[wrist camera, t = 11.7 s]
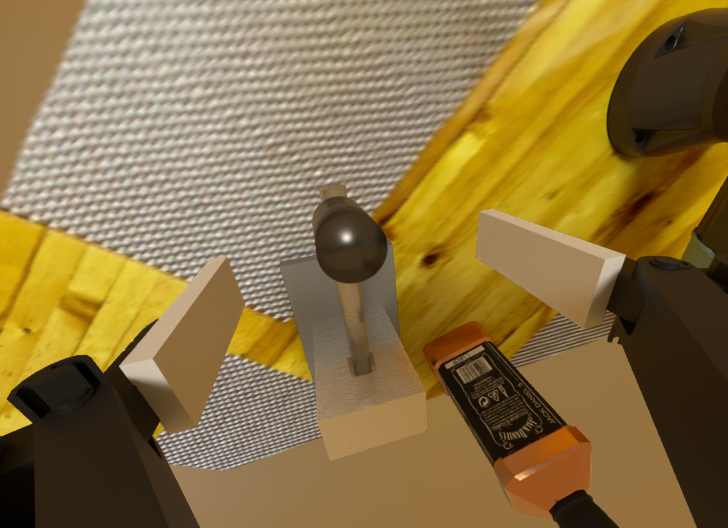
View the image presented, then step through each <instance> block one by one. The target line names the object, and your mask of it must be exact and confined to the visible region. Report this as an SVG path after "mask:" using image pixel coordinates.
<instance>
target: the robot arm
mask: <svg viewBox="0 0 728 528" xmlns="http://www.w3.org/2000/svg"><path fill="white" fill-rule="evenodd" d="M608 129H609V135H610V138H611V141H612V143H613V145H614V147H615V148H616V149H617V150H618V151H619V152H620V153H622V154H624V155H627V156H632V157H657V156H662V155H667V154H671V153H676V152H680V151H685V150H689V149H694V148H698V147H702V146H707V145H711V144H716V143H722V142H728V8H710V9H704V10H700V11H696V12H693V13H690V14H687V15H684V16H681V17H679V18H676V19H673V20H671V21H668V22H667V23H665V24H663V25H662V26H660V27H659V28H657V29H656V30H655V31H654V32H652V33H651V34H650V35H649V36H648V37H647V38H646V39H645V40H644V41H643V42H642V43H641V44H640V45H639V47H638V48H637V49H636V50H635V52H634V53H633V55H632V56H631V57H630V59H629V60H628V62H627V64H626V65H625V67H624V69H623V71H622V73H621V75H620V77H619V79H618V81H617V84H616V86H615V89H614V92H613V95H612V98H611V102H610V107H609V114H608ZM691 236H692V237H691V239H690V241H689V243H688V245H687V248H686V250H685V252H684V254H683V256H682V258H681V260H678V259H675V258H672V257H665V256H645V257H640V258H639V259H637V261H635V260H632V259H629V258H626V257H625V256H626V255H625V254H622V253H619V252H616V251H613V250H610V249H607V248H604V247H602V246H599V245H596V244H593V243H590V242H587V241H584V240H581V239H578V238H575V237H573V236H570V235H567V234H564V233H561V232H558V231H555V230H552V229H549V228H546V227H543V226H541V225H538V224H535V223H532V222H529V221H526V220H523V219H520V218H517V217H514V216H512V215H509V214H506V213H503V212H500V211H497V210H494V209H489V210H483V211H479V222H478V235H477V249H476V258H478V259H479V260H481V261H482V262H484V263H485V264H487V265H488V266H490V267H491V268H493V269H494V270H496V271H497V272H499V273H500V274H502V275H503V276H505V277H506V278H508V279H509V280H511V281H512V282H514V283H515V284H517V285H518V286H520V287H521V288H523V289H524V290H526V291H527V292H529V293H530V294H532V295H533V296H535V297H536V298H538V299H539V300H541V301H542V302H544V303H545V304H547V305H548V306H550V307H551V308H553V309H554V310H556V311H557V312H559V313H560V314H562V315H563V316H565V317H566V318H568V319H569V320H571V321H572V322H574V323H575V324H577V325H578V326H580V327H581V328H583V329H584V328H588V327H592V326H596V325H600V324H602V321H603V319H604V316H605V313H606V310H609V311H611V312H612V313H614V314H616V317H615V320H614V322H613V325H612V328H611V330H610V333H609V335H608V340H607V341H608V342H612V340H613V338H615V337H619V341H618V344H621V345H622V346H623V349H624V351H625V353H626V356H627V358H628V361H629V363H630V366H631V368H632V371H633V373H634V375H635V378H636V380H637V383H638V385H639V388H640V390H641V392H642V395H643V397H644V400H645V402H646V405H647V407H648V409H649V412H650V414H651V417H652V419H653V422H654V424H655V427H656V429H657V431H658V434H659V436H660V438H661V441H662V444H663V446H664V448H665V451H666V453H667V456H668V458H669V461H670V463H671V465H672V468H673V470H674V473H675V475H676V478H677V480H678V482H679V485H680V487H681V490H682V492H683V495H684V497H685V500H686V502H687V504H688V507H689V509H690V512H691V514H692V517H693V519H694V521H695V524H696V526H697V528H728V176H727V178H726V179H725V181H724V183H723V185H722V186H721V188H720V190H719V191H718V193H717V195H716V196H715V198H714V200H713V202H712V203H711V205H710V207H709V208H708V210H707V212H706V213H705V215H704V217H703V219H702V220H701V222H700V223H699V225H698V227H695V228H694V229H693V231H692V233H691ZM244 306H245V302H244V300H243V297H242V294H241V292H240V289H239V287H238V284H237V281H236V279H235V276H234V274H233V271H232V268H231V266H230V263H229V261H228V258H227V257H222V258H216V259H211V260H209V261H208V263H207V264H206V265H205V266H204V267H203V268H202V270H201V271H200V272H199V273H198V274H197V275H196V277H195V278H194V279H193V280H192V281H191V282H190V284H189V285H188V286H187V287H186V288H185V289H184V291H183V292H182V293H181V294H180V295H179V297H178V298H177V299H176V300H175V301H174V302H173V304H172V305H171V306H170V307H169V308H168V309H167V311H166V312H165V313H164V314H163V315H162V316H161V318H160V319H156V320H155V321H154V322H152V323H151V324H149V325H148V326H147V327H145V328H144V329H143V330H142V331H141V332H140V333H139V334H138V335H137V336H136V337H135V339H134V340H133V342H131V343H130V344H129V345H128V346H127V347H126V349H125V351H123V352H122V353H121V354H120V355H119V356H118V358H117V359H116V360H115V361H114V362H113V363H112V364H111V365H110V366H109V368H108V369H107V370H106V371H105V372H104V373H103V372H102V371H101V370H100V368H99V367H98V366H97V365H96V363H95V362H94V361H93V359H92V358H91V357H89V356H88V355H76V356H73V357H69V358H65V359H63V360H60V361H58V362H55V363H53V364H50V365H49V366H47V367H45V368H43V369H41V370H39V371H37V372H35V373H34V374H32V375H31V376H29V377H28V378H26V379H25V380H23V381H22V382H21V383H20V384H19V385H17V386H16V387H15V388H14V389H13V390H12V391H11V392H10V394H9V396H8V398H7V400H8V401H9V402H10V403H11V404H13V405H14V406H15V407H16V408H17V409H18V410H19V411H20V412H21V413H22V414H23V415H24V416H26V417H27V418H28V419H29V420H30V421H31V422H32V423H33V424H30V425H28V426H25V427H23V428H21V429H18V430H16V431H13V432H11V433H9V434H6V435H4V436H0V528H200V527H199V525H198V523H197V521H196V519H195V517H194V515H193V513H192V510H191V508H190V506H189V504H188V502H187V501H186V499H185V496H184V495H183V492H182V490H181V488H180V486H179V484H178V482H177V480H176V478H175V476H174V474H173V472H172V470H171V468H170V466H169V464H168V462H167V460H166V458H165V456H164V454H163V452H162V450H161V448H160V446H159V444H158V442H157V441H156V440H155V438H154V437H153V436H152V435H153V433H154V431H155V429H156V428H157V426H158V424H159V422H160V423H161V424H162V425H163V427H164V428H165V429H166V431H167V432H168V434H172V433H176V432H180V431H184V430H188V429H192V428H196V427H197V426H198V423H199V420H200V418H201V415H202V413H203V410H204V408H205V405H206V403H207V400H208V398H209V395H210V393H211V390H212V387H213V385H214V382H215V380H216V377H217V375H218V372H219V370H220V367H221V365H222V362H223V360H224V357H225V354H226V352H227V349H228V347H229V344H230V342H231V339H232V337H233V334H234V332H235V329H236V327H237V324H238V321H239V319H240V316H241V314H242V311H243V309H244Z"/></svg>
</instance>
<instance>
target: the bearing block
mask: <svg viewBox="0 0 728 528" xmlns="http://www.w3.org/2000/svg"><path fill="white" fill-rule="evenodd" d="M364 316H365V323H366V330H367V337H368V343H369V350H370V357H371V364H372V371H373V372H372V373H368V374H365V375H361V376H357V377H355V375H354V370H353V365H352V360H351V354H350V349H349V344H348V339H347V333H346V328H345V323H344V318H343V316H341V317H337V318H332V319H328V320H324V321H319V322H315V323H312V330H313V348H314V365H315V382H316V400H317V417H318V424H319V428H320V431H321V434H322V437H323V440H324V443H325V447H326V450H327V453H328V456H329V459H330V461H331V460H334V459H337V458H341V457H344V456H347V455H351V454H354V453H357V452H360V451H363V450H366V449H370V448H373V447H376V446H380V445H383V444H386V443H389V442H392V441H396V440H399V439H402V438H405V437H409V436H412V435H415V434H418V433H422V432H425V431H427V415H426V390H425V388H424V386H423V384H422V382H421V380H420V378H419V376H418V374H417V372H416V370H415V368H414V366H413V364H412V362H411V360H410V358H409V356H408V354H407V352H406V350H405V348H404V347H403V345H402V343H401V341H400V339H399V337H398V335H397V333H396V331H395V329H394V327H393V325H392V323H391V321H390V319H389V317H388V315H387V313H386V311H385V309H384V307H380V308H376V309H371V310H367V311H364Z"/></svg>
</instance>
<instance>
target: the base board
mask: <svg viewBox="0 0 728 528" xmlns="http://www.w3.org/2000/svg"><path fill="white" fill-rule="evenodd" d="M387 244H388V251H387V256H386V259H385V262H384V264H383V266H382V267H381V268H380V270H379V271H378V272H377V273H376V274H375V275H373V276H372V277H371V278H369V279H367V280H365V281H362V282H360V289H361V296H362V303H363V309H364V311H367V310H371V309H376V308H380V307H384V309H385V311H386V313H387V315H388V317H389V319H390V321H391V323H392V325H393V327H394V329H395V331H396V333H397V335H398V337H399V339H400V336H399V323H398V310H397V297H396V284H395V270H394V257H393V245H392V243H391V242H390V241H387ZM280 270H281V274H282V277H283V280H284V284H285V287H286V291H287V294H288V297H289V301H290V304H291V308H292V311H293V314H294V318H295V321H296V325H297V328H298V331H299V335H300V338H301V341H302V345H303V348H304V352H305V355H306V358H307V362H308V365H309V369H310V372H311V375H312V379H313V382H314V386H315V389H316V382H315V365H314V348H313V330H312V323H315V322H319V321H324V320H328V319H332V318H337V317H341V316H343V312H342V307H341V302H340V297H339V292H338V286H337V281H335V280H333V279H331V278H330V277H328V276H327V275H326V274H325V273H324V272H323V270H322V269H321V267H320V265H319V263H318V260H317V255H313V256H308V257H303V258H297V259H292V260H287V261H282V262H280Z"/></svg>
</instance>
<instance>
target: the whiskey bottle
mask: <svg viewBox="0 0 728 528" xmlns="http://www.w3.org/2000/svg"><path fill="white" fill-rule="evenodd" d="M423 351H424V354H425V356H426V358H427V360H428V362H429V364H430V366H431V368H432V370H433V372H434V374H435V377H436V379H437V380H438V382H439V383H440V385H441V387H442V388H443V390H444V391H445V393H446V395H447V396H450V397H451V399H452V400H453V402H454V403H455V405H456V407H457V408H458V410H459V412H460V414H461V415H462V417H463V418H464V420H465V422H466V423H467V425H468V427H469V429H470V430H471V432H472V434H473V435H474V437H475V438H476V440H477V442H478V443H479V445H480V447H481V448H482V450H483V452H484V453H485V455H486V457H487V458H488V460H489V462H490V463H491V465H492V467H493V468H494V471H495V474H496V476H497V479H498V481H499V483H500V485H501V488H502V490H503V493H504V495H505V497H506V498H507V500H508V502H509V503H510V505H511V507H512V508H513V510H514V511H515V512H517V513H522V514H528V515H533V516H538V517H543V518H548V519H551V518H553V520H554V521H555V522H557V523H558V525H559V527H560V528H619V527H618V526H617V525H616V524H615V523H614V522H613V521H612V520H611V519H610V518H609V517H608V516H607V514H606V513H605V512H604V511H603V510H602V509H601V508H600V507H598V506H597V505H596V504H595V503H594V502H593V498H592V497H591V496H590V481H591V476H592V457H591V456H592V449H591V443H590V441H588V439H587V438H586V437H585V436H584V435H583V434H582V433H581V432H580V431H579V430H578V429H577V428H576V427H574V426H571V425H567V424H566V423H565V421H564V420H562V418H561V417H560V416H559V415H558V414H557V413H556V412H555V410H554V409H553V408H552V407H551V406H550V405H549V404H548V403H547V402H546V401H545V400H544V399H543V397H542V396H541V395H540V394H539V393H538V392H537V391H536V390H535V389H534V388H533V387H532V385H531V384H530V383H529V382H528V381H527V380H526V379H525V378H524V377H523V376H522V375H521V374H520V373H519V371H518V370H517V369H516V368H515V367H514V366H513V365H512V364H511V363H510V361H509V360H508V359H507V358H506V357H505V356H504V355H503V354H502V353H501V352H500V351H499V349H498V348H497V347H496V346H495V345H494V344H493V342H492V338H491V336H490V335H489V334H488V333H487V332H486V331H485V330H484V329H483V328H482V326H481V325H480V324H479V323H478V322H473V321H472V322H470V323H468V324H466V325H464V326H462V327H460V328H458V329H456V330H454V331H452V332H450V333H449V334H447V335H445V336H443V337H441V338H439V339H437V340H435V341H433V342H431V343H429V344H427V345H426V347H425V348H424V350H423Z"/></svg>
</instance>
